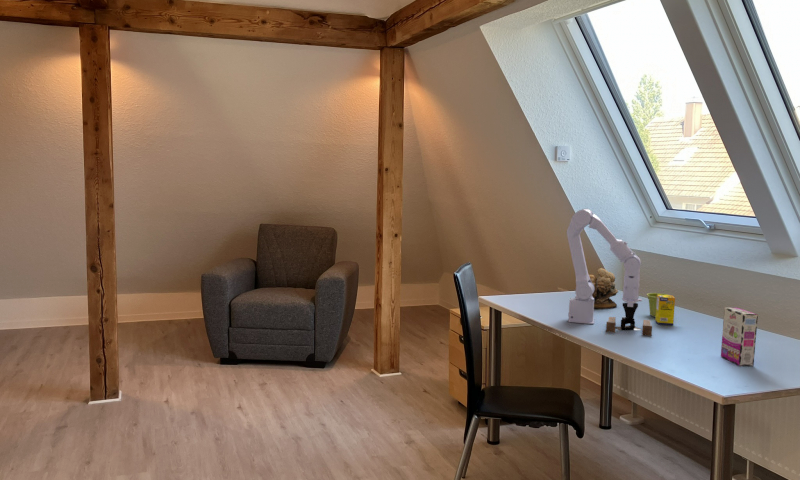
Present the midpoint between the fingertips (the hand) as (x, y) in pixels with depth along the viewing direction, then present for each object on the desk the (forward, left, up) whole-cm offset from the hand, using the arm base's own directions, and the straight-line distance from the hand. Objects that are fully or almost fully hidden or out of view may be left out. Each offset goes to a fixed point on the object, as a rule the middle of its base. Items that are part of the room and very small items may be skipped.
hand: (629, 322), depth 264 cm
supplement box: (+13, +11, -2) cm, 17 cm away
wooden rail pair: (0, -6, -2) cm, 6 cm away
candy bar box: (+33, -37, -2) cm, 50 cm away
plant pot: (+11, +25, -2) cm, 27 cm away
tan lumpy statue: (-13, +35, -2) cm, 37 cm away
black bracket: (-1, -4, -2) cm, 5 cm away
